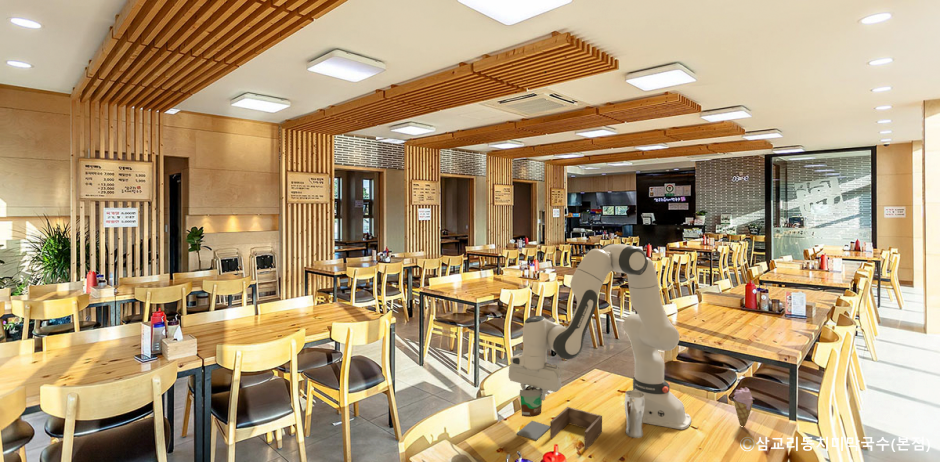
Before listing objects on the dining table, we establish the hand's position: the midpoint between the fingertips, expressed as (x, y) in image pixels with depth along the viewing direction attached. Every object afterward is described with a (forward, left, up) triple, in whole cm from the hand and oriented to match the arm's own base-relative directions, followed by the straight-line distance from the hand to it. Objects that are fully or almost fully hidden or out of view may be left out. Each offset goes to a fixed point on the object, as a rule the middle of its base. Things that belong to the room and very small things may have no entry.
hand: (534, 397), depth 169 cm
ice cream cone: (-63, -48, -13) cm, 80 cm away
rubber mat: (0, 0, -13) cm, 13 cm away
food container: (-1, 0, -6) cm, 6 cm away
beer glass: (-31, -19, -13) cm, 39 cm away
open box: (-14, -6, -13) cm, 20 cm away
